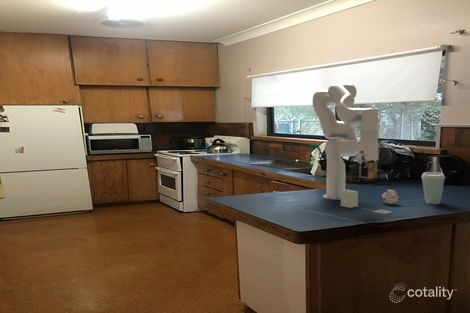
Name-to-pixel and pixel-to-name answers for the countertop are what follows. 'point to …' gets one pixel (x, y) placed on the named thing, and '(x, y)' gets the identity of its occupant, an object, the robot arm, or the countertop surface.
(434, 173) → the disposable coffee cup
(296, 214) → the countertop surface
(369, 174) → the walnut block
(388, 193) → the cream knobbly ball
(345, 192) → the sage block
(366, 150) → the robot arm
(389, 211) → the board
